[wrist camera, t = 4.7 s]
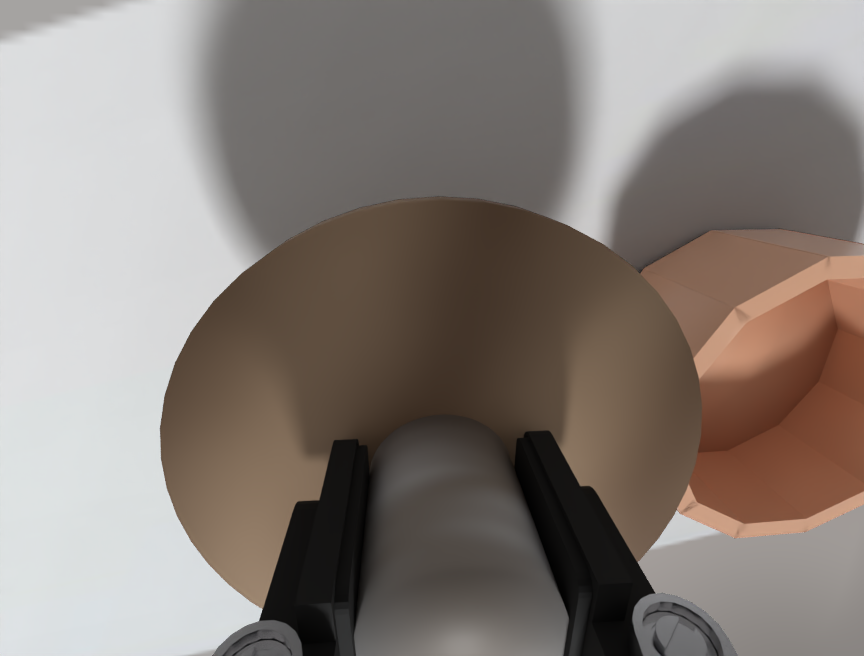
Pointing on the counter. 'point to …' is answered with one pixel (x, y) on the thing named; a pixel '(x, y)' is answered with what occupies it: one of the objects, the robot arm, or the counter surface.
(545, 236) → the lid
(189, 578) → the counter surface
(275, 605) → the robot arm
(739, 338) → the bowl
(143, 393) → the counter surface
